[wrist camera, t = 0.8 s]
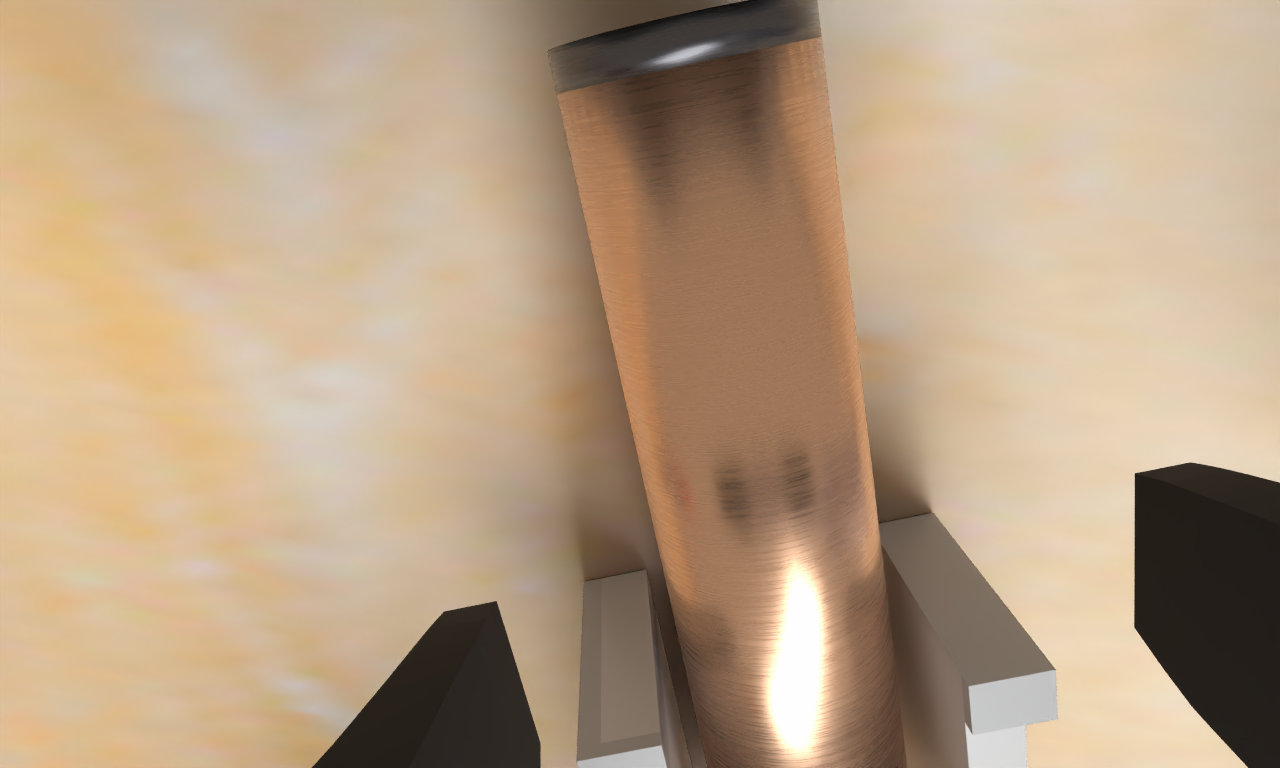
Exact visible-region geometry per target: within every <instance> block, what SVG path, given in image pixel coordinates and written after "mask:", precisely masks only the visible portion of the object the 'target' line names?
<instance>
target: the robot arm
mask: <svg viewBox="0 0 1280 768" xmlns="http://www.w3.org/2000/svg"><path fill="white" fill-rule="evenodd" d="M1134 627H1135V629H1136V630H1137V632H1138V633H1139V635H1140V636H1141V637H1142V639H1143V640H1144V642H1145V643H1146V645H1147V646H1148V647H1149V649H1150V650H1151V652H1152V653H1153V654H1154V656H1155V657H1156V659H1157V660H1158V662H1159V663H1160V664H1161V666H1162V667H1163V669H1164V670H1165V672H1166V673H1167V674H1168V675H1169V677H1170V678H1171V679H1172V681H1173V682H1174V683H1175V685H1176V686H1177V687H1178V689H1179V690H1180V691H1181V693H1182V694H1183V695H1184V697H1185V698H1186V699H1187V701H1188V702H1189V703H1190V705H1191V706H1192V707H1193V708H1194V709H1195V710H1196V712H1197V713H1198V714H1199V715H1200V716H1201V717H1202V718H1203V719H1204V720H1205V721H1206V723H1207V724H1208V725H1209V726H1210V727H1211V728H1212V729H1213V730H1214V731H1215V732H1216V733H1217V735H1218V736H1219V737H1220V738H1221V739H1222V740H1223V741H1224V742H1225V743H1226V744H1227V745H1228V746H1229V747H1230V748H1231V750H1232V751H1233V752H1234V753H1235V754H1236V755H1237V756H1238V757H1239V758H1240V759H1241V760H1242V761H1243V762H1244V764H1245V765H1246V766H1247V767H1248V768H1280V483H1279V482H1275V481H1271V480H1267V479H1263V478H1259V477H1255V476H1252V475H1248V474H1244V473H1239V472H1235V471H1231V470H1227V469H1222V468H1218V467H1213V466H1207V465H1202V464H1196V463H1185V464H1180V465H1175V466H1170V467H1165V468H1160V469H1155V470H1150V471H1145V472H1140V473H1135V611H1134ZM312 768H540V740H539V737H538V734H537V731H536V727H535V724H534V721H533V718H532V715H531V711H530V708H529V705H528V702H527V698H526V695H525V692H524V689H523V685H522V682H521V679H520V676H519V672H518V669H517V666H516V663H515V659H514V656H513V653H512V650H511V646H510V643H509V640H508V637H507V633H506V630H505V627H504V624H503V620H502V617H501V614H500V611H499V607H498V604H497V601H495V602H490V603H485V604H480V605H475V606H470V607H465V608H460V609H455V610H450V611H445V612H443V613H442V615H441V616H440V617H439V618H438V619H437V620H436V621H435V622H434V623H433V624H432V626H431V627H430V628H429V629H428V630H427V632H426V633H425V634H424V635H423V636H422V638H421V639H420V640H419V641H418V642H417V644H416V645H415V646H414V647H413V649H412V650H411V651H410V652H409V653H408V655H407V656H406V657H405V658H404V660H403V661H402V662H401V663H400V665H399V666H398V667H397V668H396V669H395V671H394V672H393V673H392V674H391V676H390V677H389V678H388V679H387V681H386V682H385V683H384V684H383V685H382V687H381V688H380V689H379V690H378V691H377V693H376V694H375V695H374V696H373V697H372V699H371V700H370V701H369V702H368V703H367V705H366V706H365V707H364V708H363V709H362V711H361V712H360V713H359V714H358V715H357V717H356V718H355V719H354V720H353V721H352V723H351V724H350V725H349V726H348V727H347V728H346V730H345V731H344V732H343V733H342V734H341V736H340V737H339V738H338V739H337V740H336V742H335V743H334V744H333V745H332V746H331V747H330V748H329V749H328V751H327V752H326V753H325V754H324V755H323V756H322V757H321V758H320V759H319V760H318V762H317V763H316V764H315V765H314V766H313V767H312Z"/></svg>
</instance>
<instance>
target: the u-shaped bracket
mask: <svg viewBox="0 0 1280 768" xmlns="http://www.w3.org/2000/svg"><path fill="white" fill-rule="evenodd" d="M879 531H880V539H881V548H882V556H883V565H884V573H885V582H886V590H887V599H888V607H889V616H890V624H891V633H892V641H893V650H894V658H895V667H896V675H897V684H898V692H899V701H900V709H901V718H902V726H903V735H904V743H905V752H906V760H907V768H1028V766H1027V748H1026V729H1025V725H1029V724H1035V723H1040V722H1045V721H1050V720H1056V719H1058V716H1057V689H1056V669H1055V668H1054V667H1053V666H1052V664H1051V663H1050V662H1049V660H1048V659H1047V658H1046V657H1045V655H1044V654H1043V653H1042V651H1041V650H1040V649H1039V648H1038V646H1037V645H1036V644H1035V642H1034V641H1033V640H1032V639H1031V637H1030V636H1029V635H1028V633H1027V632H1026V631H1025V630H1024V628H1023V627H1022V626H1021V624H1020V623H1019V622H1018V621H1017V619H1016V618H1015V617H1014V615H1013V614H1012V613H1011V612H1010V610H1009V609H1008V608H1007V607H1006V605H1005V604H1004V603H1003V601H1002V600H1001V599H1000V598H999V596H998V595H997V594H996V592H995V591H994V590H993V589H992V587H991V586H990V585H989V583H988V582H987V581H986V580H985V578H984V577H983V576H982V574H981V573H980V572H979V571H978V569H977V568H976V567H975V565H974V564H973V563H972V562H971V560H970V559H969V558H968V556H967V555H966V554H965V553H964V551H963V550H962V549H961V548H960V546H959V545H958V544H957V542H956V541H955V540H954V539H953V537H952V536H951V535H950V533H949V532H948V531H947V530H946V528H945V527H944V526H943V524H942V523H941V522H940V521H939V519H938V518H937V517H936V515H935V514H934V513H929V514H924V515H919V516H914V517H909V518H904V519H899V520H894V521H889V522H884V523H879ZM577 765H578V768H692V765H691V761H690V757H689V752H688V748H687V744H686V740H685V735H684V731H683V727H682V722H681V718H680V714H679V709H678V705H677V701H676V696H675V692H674V688H673V683H672V679H671V675H670V670H669V666H668V662H667V658H666V653H665V649H664V645H663V640H662V636H661V632H660V627H659V623H658V619H657V614H656V610H655V606H654V601H653V597H652V593H651V588H650V584H649V580H648V575H647V571H646V570H641V571H636V572H631V573H626V574H621V575H616V576H611V577H606V578H601V579H596V580H591V581H586V582H584V596H583V620H582V644H581V668H580V692H579V716H578V740H577Z"/></svg>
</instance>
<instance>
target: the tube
mask: <svg viewBox="0 0 1280 768" xmlns="http://www.w3.org/2000/svg"><path fill="white" fill-rule="evenodd" d="M547 52H548V57H549V61H550V66H551V70H552V75H553V79H554V84H555V88H556V93H557V97H558V102H559V106H560V111H561V115H562V120H563V124H564V129H565V133H566V137H567V142H568V146H569V151H570V155H571V160H572V164H573V169H574V173H575V178H576V182H577V187H578V191H579V196H580V200H581V205H582V209H583V214H584V218H585V222H586V227H587V231H588V236H589V240H590V245H591V249H592V254H593V258H594V263H595V267H596V272H597V276H598V281H599V285H600V290H601V294H602V299H603V303H604V307H605V312H606V316H607V321H608V325H609V330H610V334H611V339H612V343H613V348H614V352H615V357H616V361H617V366H618V370H619V375H620V379H621V383H622V388H623V392H624V397H625V401H626V406H627V410H628V415H629V419H630V424H631V428H632V433H633V437H634V442H635V446H636V451H637V455H638V460H639V464H640V468H641V473H642V477H643V482H644V486H645V491H646V495H647V500H648V504H649V509H650V513H651V518H652V522H653V527H654V531H655V536H656V540H657V545H658V549H659V553H660V558H661V562H662V567H663V571H664V576H665V580H666V585H667V589H668V594H669V598H670V603H671V607H672V612H673V616H674V621H675V625H676V630H677V634H678V638H679V643H680V647H681V652H682V656H683V661H684V665H685V670H686V674H687V679H688V683H689V688H690V692H691V697H692V701H693V706H694V710H695V715H696V719H697V723H698V728H699V732H700V737H701V741H702V746H703V750H704V755H705V759H706V764H707V768H907V760H906V752H905V743H904V735H903V726H902V718H901V709H900V701H899V692H898V684H897V675H896V667H895V658H894V650H893V641H892V633H891V624H890V616H889V607H888V599H887V590H886V582H885V573H884V565H883V556H882V548H881V539H880V531H879V522H878V514H877V505H876V497H875V488H874V480H873V471H872V463H871V454H870V446H869V437H868V429H867V420H866V412H865V403H864V395H863V386H862V378H861V369H860V361H859V352H858V344H857V335H856V327H855V318H854V310H853V301H852V293H851V284H850V276H849V267H848V259H847V250H846V242H845V234H844V225H843V217H842V208H841V200H840V191H839V183H838V174H837V166H836V157H835V149H834V140H833V132H832V123H831V115H830V106H829V98H828V89H827V81H826V72H825V64H824V55H823V47H822V38H821V30H820V21H819V13H818V4H817V0H747V1H742V2H737V3H732V4H727V5H722V6H717V7H712V8H708V9H703V10H698V11H694V12H689V13H684V14H680V15H675V16H671V17H667V18H662V19H658V20H654V21H650V22H645V23H641V24H637V25H633V26H629V27H625V28H621V29H617V30H613V31H609V32H605V33H602V34H598V35H594V36H591V37H587V38H583V39H580V40H577V41H573V42H570V43H567V44H564V45H561V46H558V47H555V48H553V49H551V50H549V51H547Z"/></svg>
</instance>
